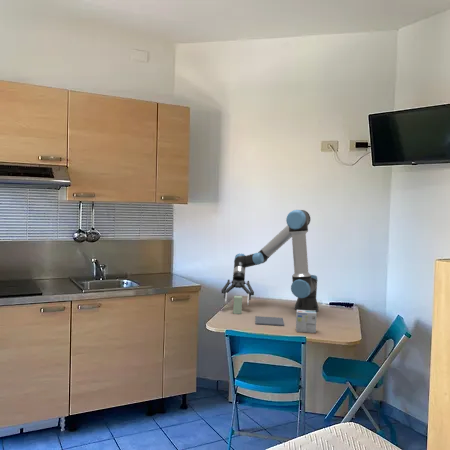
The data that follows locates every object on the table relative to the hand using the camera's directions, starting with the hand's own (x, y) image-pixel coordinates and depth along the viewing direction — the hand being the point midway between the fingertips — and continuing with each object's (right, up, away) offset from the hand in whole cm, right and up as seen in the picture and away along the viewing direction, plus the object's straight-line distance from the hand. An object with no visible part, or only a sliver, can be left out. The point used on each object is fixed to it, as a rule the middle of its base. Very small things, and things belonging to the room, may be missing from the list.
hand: (236, 303), depth 285 cm
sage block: (0, -6, 0) cm, 6 cm away
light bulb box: (+36, -9, -34) cm, 51 cm away
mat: (+18, -7, -18) cm, 27 cm away
